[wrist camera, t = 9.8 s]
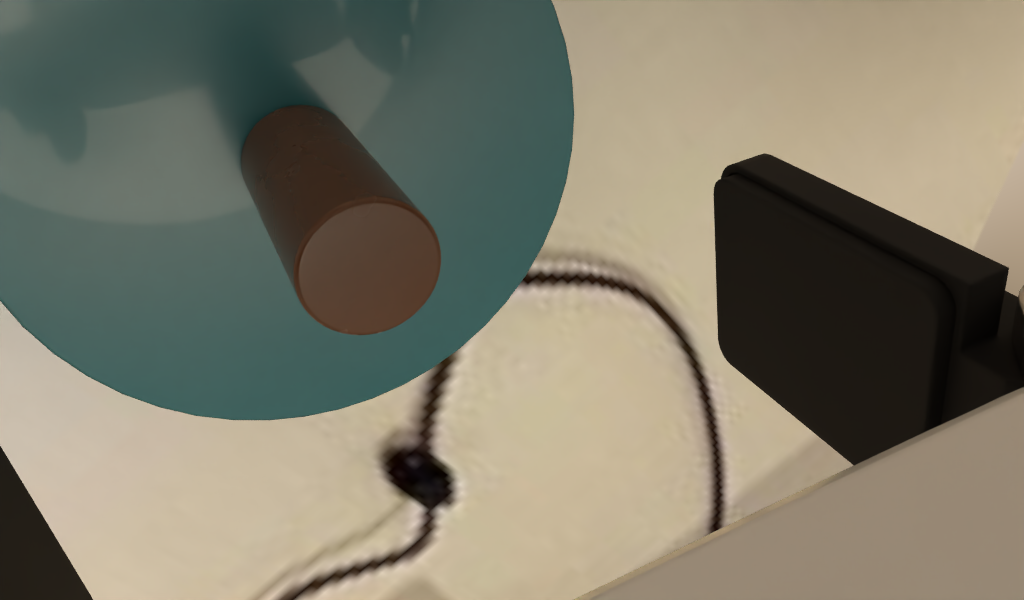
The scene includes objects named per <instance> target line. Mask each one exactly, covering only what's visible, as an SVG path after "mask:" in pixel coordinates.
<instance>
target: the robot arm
mask: <svg viewBox="0 0 1024 600" xmlns="http://www.w3.org/2000/svg"><path fill="white" fill-rule="evenodd" d="M714 218H715V251H716V284H717V316H718V341H719V346H720V349H721V351H722V353H723V355H724V357H725V358H726V360H727V361H728V362H729V363H730V364H731V365H732V366H733V367H734V368H736V369H737V370H738V371H739V372H741V373H742V374H743V375H744V376H745V377H747V378H748V379H749V380H750V381H752V382H753V383H754V384H755V385H756V386H758V387H759V388H760V389H761V390H763V391H764V392H765V393H766V394H767V395H769V396H770V397H771V398H772V399H774V400H775V401H776V402H777V403H778V404H780V405H781V406H782V407H783V408H785V409H786V410H787V411H788V412H789V413H791V414H792V415H793V416H794V417H796V418H797V419H798V420H799V421H800V422H802V423H803V424H804V425H805V426H806V427H808V428H809V429H810V430H811V431H813V432H814V433H815V434H816V435H817V436H819V437H820V438H821V439H822V440H824V441H825V442H826V443H827V444H828V445H830V446H831V447H832V448H833V449H835V450H836V451H837V452H838V453H839V454H841V455H842V456H843V457H844V458H846V459H847V460H848V461H849V462H850V463H852V464H853V465H854V466H852V467H850V468H848V469H846V470H844V471H842V472H839V473H837V474H835V475H833V476H831V477H829V478H827V479H825V480H823V481H820V482H818V483H816V484H814V485H812V486H810V487H808V488H806V489H804V490H801V491H799V492H797V493H795V494H793V495H791V496H789V497H787V498H785V499H782V500H780V501H778V502H776V503H774V504H772V505H770V506H768V507H765V508H763V509H761V510H759V511H757V512H755V513H753V514H751V515H749V516H747V517H745V518H742V519H740V520H738V521H736V522H734V523H732V524H730V525H728V526H726V527H724V528H722V529H720V530H717V531H715V532H713V533H711V534H709V535H707V536H705V537H703V538H701V539H699V540H697V541H695V542H692V543H690V544H688V545H686V546H684V547H682V548H680V549H678V550H676V551H674V552H672V553H669V554H667V555H665V556H663V557H661V558H659V559H657V560H655V561H653V562H651V563H649V564H647V565H644V566H642V567H640V568H638V569H636V570H634V571H632V572H630V573H628V574H626V575H624V576H622V577H620V578H617V579H615V580H613V581H611V582H609V583H607V584H605V585H603V586H601V587H599V588H597V589H595V590H593V591H590V592H588V593H586V594H584V595H582V596H580V597H578V598H576V599H574V600H1024V285H1023V287H1022V288H1021V289H1020V291H1019V296H1018V297H1017V296H1015V295H1013V294H1010V293H1009V292H1007V291H1005V287H1006V281H1007V276H1008V270H1009V268H1008V267H1006V266H1004V265H1002V264H1000V263H997V262H995V261H993V260H991V259H989V258H987V257H985V256H983V255H981V254H978V253H976V252H974V251H972V250H970V249H968V248H966V247H964V246H962V245H960V244H957V243H955V242H953V241H951V240H949V239H947V238H945V237H943V236H941V235H938V234H936V233H934V232H932V231H930V230H928V229H926V228H924V227H922V226H919V225H917V224H915V223H913V222H911V221H909V220H907V219H905V218H903V217H900V216H898V215H896V214H894V213H892V212H890V211H888V210H886V209H884V208H881V207H879V206H877V205H875V204H873V203H871V202H869V201H867V200H865V199H862V198H860V197H858V196H856V195H854V194H852V193H850V192H848V191H846V190H843V189H841V188H839V187H837V186H835V185H833V184H831V183H829V182H827V181H825V180H822V179H820V178H818V177H816V176H814V175H812V174H810V173H808V172H806V171H803V170H801V169H799V168H797V167H795V166H793V165H791V164H789V163H787V162H784V161H782V160H780V159H778V158H776V157H774V156H772V155H769V154H761V155H758V156H755V157H752V158H749V159H746V160H743V161H740V162H738V163H735V164H732V165H729V166H727V167H726V168H725V169H724V171H723V173H722V176H721V179H720V180H718V181H717V182H716V184H715V187H714ZM0 600H93V599H92V597H91V595H90V594H89V592H88V590H87V589H86V587H85V585H84V584H83V582H82V580H81V579H80V577H79V575H78V574H77V572H76V570H75V569H74V567H73V565H72V564H71V562H70V560H69V559H68V557H67V555H66V554H65V552H64V551H63V549H62V547H61V546H60V544H59V542H58V541H57V539H56V537H55V536H54V534H53V532H52V531H51V529H50V527H49V526H48V524H47V522H46V521H45V519H44V517H43V516H42V514H41V512H40V511H39V509H38V508H37V506H36V504H35V503H34V501H33V499H32V498H31V496H30V494H29V493H28V491H27V489H26V488H25V486H24V484H23V483H22V481H21V479H20V478H19V476H18V474H17V473H16V471H15V469H14V468H13V466H12V465H11V463H10V461H9V460H8V458H7V456H6V455H5V453H4V451H3V450H2V448H1V446H0Z"/></svg>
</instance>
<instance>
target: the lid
mask: <svg viewBox="0 0 1024 600" xmlns="http://www.w3.org/2000/svg"><path fill="white" fill-rule="evenodd" d="M573 124H574V104H573V87H572V76H571V70H570V65H569V59H568V54H567V49H566V43H565V40H564V37H563V33H562V30H561V27H560V24H559V21H558V18H557V14H556V11H555V8H554V6H553V3H552V1H551V0H0V301H1V302H2V303H3V305H4V306H5V307H6V308H7V309H8V310H9V311H10V313H11V314H12V315H13V316H14V317H15V318H16V319H17V321H18V322H19V323H20V324H21V325H22V326H23V327H24V328H25V329H26V330H27V331H28V332H30V333H31V334H32V335H33V336H34V337H35V338H36V339H38V340H39V341H40V342H41V343H42V344H43V345H44V346H46V347H47V348H48V349H49V350H50V351H51V352H52V353H54V354H55V355H57V356H58V357H60V358H61V359H63V360H64V361H66V362H67V363H69V364H70V365H72V366H73V367H75V368H76V369H77V370H79V371H80V372H82V373H83V374H85V375H86V376H88V377H90V378H92V379H94V380H96V381H98V382H100V383H102V384H104V385H106V386H108V387H110V388H112V389H114V390H116V391H118V392H120V393H122V394H124V395H127V396H130V397H133V398H135V399H138V400H141V401H144V402H147V403H149V404H152V405H155V406H158V407H161V408H165V409H170V410H174V411H178V412H183V413H187V414H191V415H195V416H204V417H212V418H221V419H229V420H275V419H285V418H295V417H305V416H310V415H314V414H319V413H324V412H329V411H333V410H338V409H341V408H345V407H348V406H351V405H354V404H357V403H360V402H363V401H366V400H369V399H372V398H375V397H377V396H379V395H381V394H384V393H386V392H388V391H390V390H393V389H395V388H397V387H399V386H402V385H404V384H405V383H407V382H409V381H411V380H412V379H414V378H416V377H418V376H419V375H421V374H423V373H425V372H426V371H428V370H430V369H432V368H433V367H435V366H436V365H437V364H439V363H440V362H441V361H443V360H444V359H446V358H447V357H448V356H450V355H451V354H453V353H454V352H455V351H457V350H458V349H459V348H461V347H462V346H463V345H464V344H465V343H466V342H467V341H468V340H470V339H471V338H472V337H473V336H474V335H475V334H476V333H477V332H478V331H480V330H481V329H482V328H483V327H484V326H485V325H486V324H487V323H488V322H489V321H490V319H491V318H492V317H493V316H494V315H495V314H496V313H497V312H498V311H499V309H500V308H501V307H502V306H503V305H504V304H505V303H506V302H507V300H508V299H509V298H510V296H511V295H512V294H513V292H514V291H515V289H516V288H517V287H518V285H519V284H520V283H521V281H522V280H523V278H524V277H525V276H526V274H527V272H528V271H529V269H530V267H531V265H532V264H533V262H534V260H535V258H536V257H537V255H538V253H539V251H540V250H541V248H542V246H543V244H544V242H545V239H546V237H547V235H548V232H549V230H550V228H551V225H552V223H553V221H554V218H555V216H556V213H557V210H558V207H559V203H560V200H561V197H562V194H563V190H564V187H565V184H566V179H567V173H568V168H569V162H570V157H571V151H572V140H573Z"/></svg>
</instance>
